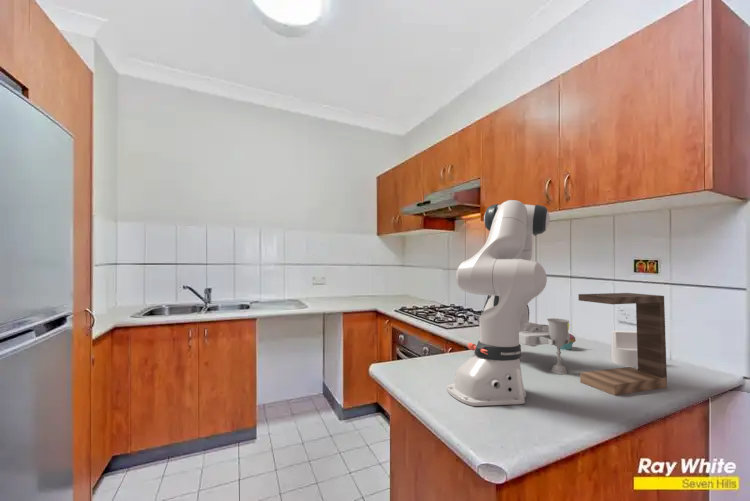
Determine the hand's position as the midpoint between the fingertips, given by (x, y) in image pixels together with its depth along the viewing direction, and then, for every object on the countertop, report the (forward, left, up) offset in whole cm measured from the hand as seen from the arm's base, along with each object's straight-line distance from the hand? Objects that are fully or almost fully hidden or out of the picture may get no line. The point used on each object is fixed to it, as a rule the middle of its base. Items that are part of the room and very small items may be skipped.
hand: (560, 342), depth 114 cm
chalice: (0, +1, -11) cm, 11 cm away
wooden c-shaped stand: (+9, -15, -11) cm, 20 cm away
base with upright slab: (+34, +2, -11) cm, 36 cm away
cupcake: (+30, +26, -11) cm, 41 cm away
